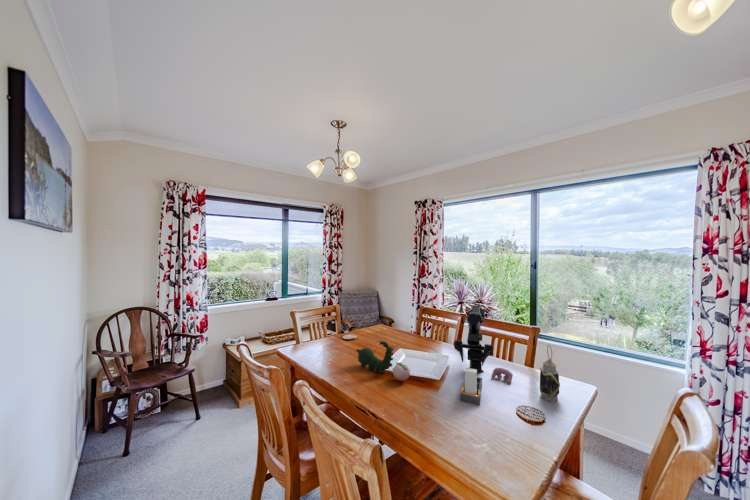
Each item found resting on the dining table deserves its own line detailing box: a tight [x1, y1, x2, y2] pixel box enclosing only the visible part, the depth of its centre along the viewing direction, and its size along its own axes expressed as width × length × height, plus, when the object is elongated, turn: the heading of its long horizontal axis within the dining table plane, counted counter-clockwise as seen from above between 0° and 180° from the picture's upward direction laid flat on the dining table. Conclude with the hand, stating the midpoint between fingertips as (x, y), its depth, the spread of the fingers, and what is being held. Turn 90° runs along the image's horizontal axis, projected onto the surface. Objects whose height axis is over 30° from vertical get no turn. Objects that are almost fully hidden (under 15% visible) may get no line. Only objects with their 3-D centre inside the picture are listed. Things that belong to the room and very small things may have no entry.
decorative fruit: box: [392, 361, 411, 382], centre depth 148 cm, size 9×8×10 cm
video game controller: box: [491, 367, 514, 385], centre depth 150 cm, size 10×5×7 cm, turn 48°
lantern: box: [539, 344, 561, 403], centre depth 132 cm, size 9×8×25 cm
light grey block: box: [464, 367, 478, 395], centre depth 131 cm, size 4×5×12 cm
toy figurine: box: [355, 340, 394, 374], centre depth 163 cm, size 9×19×25 cm
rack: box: [459, 376, 483, 406], centre depth 137 cm, size 20×8×4 cm, turn 157°
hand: (472, 363), depth 138 cm, fingers open, 9 cm apart
